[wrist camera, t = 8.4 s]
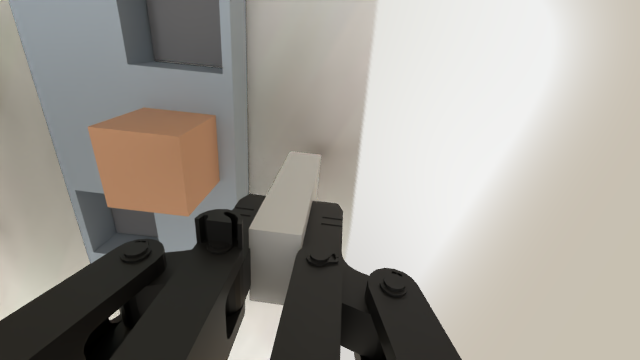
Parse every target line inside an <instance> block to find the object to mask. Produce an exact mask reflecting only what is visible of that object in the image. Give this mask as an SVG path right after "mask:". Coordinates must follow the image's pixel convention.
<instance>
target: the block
mask: <svg viewBox="0 0 640 360" xmlns="http://www.w3.org/2000/svg"><path fill="white" fill-rule="evenodd" d="M88 131H89V135H90V139H91V143H92V147H93V151H94V155H95V159H96V163H97V167H98V171H99V175H100V179H101V183H102V187H103V191H104V195H105V199H106V203H107V206H108V207H111V208H119V209H128V210H136V211H145V212H153V213H162V214H170V215H179V216H187V217H189V216H190V214H191V213H192V212H193V211H194V210H195V209H196V208H197V206H198V205H199V204H200V203H201V202H202V201H203V200H204V198H205V197H206V196H207V195H208V194H209V193H210V192H211V190H212V189H213V188H214V187H215V186H216V185H217V184H218V183H219V181H220V176H219V160H218V144H217V128H216V115H210V114H200V113H191V112H182V111H172V110H163V109H154V108H141V109H138V110H135V111H132V112H129V113H126V114H123V115H120V116H117V117H115V118H112V119H109V120H106V121H103V122H100V123H97V124H94V125H91V126H88Z"/></svg>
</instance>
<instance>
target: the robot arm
mask: <svg viewBox="0 0 640 360" xmlns="http://www.w3.org/2000/svg"><path fill="white" fill-rule="evenodd" d="M320 164H321V155H320V154H311V153H303V152H294V151H290V152H289V154H288V156H287V158H286V160H285V162H284V164H283V165H282V167H281V169H280V171H279V173H278V175H277V177H276V179H275V180H274V182H273V184H272V186H271V188H270V190H269V192H268V194H267V195H266V196H261V195H253V194H248V195H246V196H245V197H243V198H241V199H240V200H239V201H238V202H237V204H236V205H235V207H234V208H233V210H229V209H214V210H209V211H206V212H204V213H201V214H199V215H198V216H197V217H196V218H194V220H195V229H196V239H197V244H196V245H195V246H194V248H193V249H191V250H185V251H175V252H165V249H164V246H163V244H162V243H161V242H159V241H157V240H154V239H137V240H133V241H130V242H126V243H124V244H122V245H120V246H118V247H116V248H115V249H113V250H112V251H110V252H108V253H107V254H105V255H104V256H102V257H101V258H99V259H97V260H96V261H94V262H93V263H91V264H89V265H88V266H86V267H85V268H83V269H82V270H80V271H78V272H77V273H75V274H74V275H72V276H70V277H69V278H67V279H66V280H64V281H63V282H61V283H59V284H58V285H56V286H55V287H53V288H51V289H50V290H48V291H47V292H45V293H43V294H42V295H40V296H39V297H37V298H36V299H34V300H32V301H31V302H29V303H28V304H26V305H24V306H23V307H21V308H20V309H18V310H17V311H15V312H13V313H12V314H10V315H9V316H7V317H5V318H4V319H2V320H1V321H0V360H227V359H228V356H229V354H230V351H231V348H232V346H233V343H234V341H235V338H236V335H237V333H238V330H239V327H240V325H241V322H242V319H243V317H244V313H245V299H246V296H247V294H248V291H249V289H250V300H251V301H258V302H265V303H273V304H280V305H284V306H283V310H282V314H281V318H280V322H279V326H278V330H277V334H276V338H275V342H274V346H273V350H272V354H271V358H270V360H340V345H341V346H343V347H345V348H347V349H349V350H351V351H353V352H354V355H355V360H462V359H461V358H460V356H459V354H458V353H457V351H456V349H455V347H454V346H453V344H452V342H451V341H450V339H449V337H448V336H447V334H446V333H445V330H444V329H443V327H442V325H441V324H440V322H439V320H438V319H437V317H436V315H435V314H434V312H433V310H432V308H431V307H430V305H429V303H428V302H427V300H426V298H425V297H424V295H423V293H422V292H421V290H420V288H419V287H418V285H417V284H416V282H414V280H413V279H412V278H411V277H410V276H408V275H407V274H405V273H403V272H401V271H398V270H395V269H389V268H383V269H378V270H375V271H374V272H373V273H371V274H370V276H368V275H366V274H363V273H361V272H358V271H356V270H354V269H353V268H351V267H350V266H348V265H347V263H346V262H345V261H344V259H343V257H342V252H341V251H342V220H343V211H342V209H341V208H340V206H339V205H338V204H335V203H327V202H319V201H317V195H318V184H319V174H320ZM118 309H119V310H120V315H118V316H117V317H116V318H114V319H112V320H109V318H108V317H110V316H111V315H112V314H113V313H114V312H116V311H117V310H118Z"/></svg>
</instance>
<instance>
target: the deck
mask: <svg viewBox="0 0 640 360" xmlns="http://www.w3.org/2000/svg"><path fill="white" fill-rule="evenodd" d="M9 4H10V7H11V10H12V13H13V17H14V20H15V23H16V26H17V29H18V33H19V36H20V39H21V42H22V45H23V49H24V52H25V55H26V58H27V61H28V65H29V68H30V71H31V74H32V78H33V81H34V84H35V87H36V90H37V94H38V97H39V100H40V103H41V106H42V110H43V113H44V116H45V119H46V123H47V126H48V129H49V132H50V135H51V139H52V142H53V145H54V148H55V151H56V155H57V158H58V161H59V164H60V167H61V171H62V174H63V177H64V180H65V184H66V187H67V190H68V193H69V196H70V200H71V203H72V206H73V209H74V212H75V216H76V219H77V222H78V225H79V228H80V232H81V235H82V238H83V241H84V245H85V248H86V251H87V254H88V257H89V261H90V264H91V263H93V262H94V261H96V260H97V259H99V258H101V257H102V256H104V255H105V254H107V253H108V252H110V251H112V250H113V249H115V248H116V247H118V246H120V245H122V244H124V243H126V242H130V241H133V240H137V239H154V240H157V241H159V242H161V243H162V244H163V246H164V249H165V252H175V251H185V250H191V249H193V248H194V246H195V245H196V244H197V239H196V229H195V220H194V218H196V217H197V216H198V215H199V214H201V213H204V212H206V211H209V210H214V209H229V210H233V208H234V207H235V205H236V204H237V202H238V201H239V200H240V199H241V198H243V197H245V196H246V195H248V194H249V178H248V117H247V57H246V0H9ZM155 60H162V61H172V62H181V63H191V64H201V65H211V66H221V67H222V68H217V67H207V66H197V65H188V64H178V63H168V62H158V61H155ZM141 108H154V109H163V110H172V111H182V112H191V113H200V114H210V115H216V128H217V144H218V160H219V176H220V181H219V183H218V184H217V185H216V186H215V187H214V188H213V189H212V190H211V192H210V193H209V194H208V195H207V196H206V197H205V198H204V200H203V201H202V202H201V203H200V204H199V205H198V206H197V208H196V209H195V210H194V211H193V212H192V213H191V214H190V216H189V217H187V216H179V215H170V214H162V213H153V212H145V211H136V210H128V209H119V208H111V207H108V206H107V203H106V199H105V195H104V191H103V187H102V183H101V179H100V175H99V171H98V167H97V163H96V159H95V155H94V151H93V147H92V143H91V139H90V135H89V131H88V126H91V125H94V124H97V123H100V122H103V121H106V120H109V119H112V118H115V117H117V116H120V115H123V114H126V113H129V112H132V111H135V110H138V109H141Z"/></svg>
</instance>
